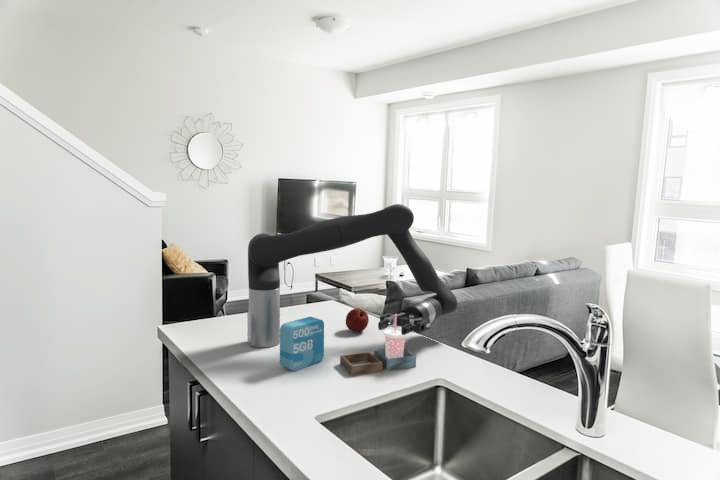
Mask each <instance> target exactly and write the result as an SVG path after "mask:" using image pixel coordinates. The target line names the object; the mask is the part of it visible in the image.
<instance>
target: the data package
mask: <svg viewBox="0 0 720 480" xmlns="http://www.w3.org/2000/svg"><path fill="white" fill-rule="evenodd" d="M324 353H325V322H324V320H322V319H319V318H316V317H312V316H308V317H304V318H299V319H296V320H291V321H288V322H287V321H286V322H284V323H282V324H280V343H279V365H280V366H281V367H282V368H284V369H286V370H289V371H292V372H296V371H298V370H301V369H305V368H307V367H310V366H313V365H316V364H319V363H321V362H322V361H323V359H324V356H325V354H324Z"/></svg>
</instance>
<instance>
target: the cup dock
mask: <svg viewBox="0 0 720 480" xmlns="http://www.w3.org/2000/svg"><path fill="white" fill-rule="evenodd" d="M339 356H340V357H339V358H340V359H339V361H340V362H339V364H340V366H341V367H342V368H343V369H344V370H345V371H346V372H347V373H348V374H349V375H350V376H351V377H352V376H360V375H366V374H367V375H368V374H373V373H381V372H383V369H384V370H385V371H387V372H389V371H395V370H402V369H410V368H416V367H417V355H415V354H414V353H412V352H411V351H410V350H408V349H407V348H405V347H404V353H403V357H398V358H391V359H388V358H387V357H386V355H385V347H384V348H383V347H382V348H375V349H373V353H372V352H370V351H364V352H357V353H356V352H354V353H348V354H341V355H339ZM366 362H367V363H366ZM357 363H358V364H357Z"/></svg>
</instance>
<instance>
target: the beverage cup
mask: <svg viewBox="0 0 720 480" xmlns="http://www.w3.org/2000/svg"><path fill="white" fill-rule="evenodd" d="M394 315H395V327H394V328H385V329H383V330H384V331H383V335H384V345H385V346H384V348H385V355H386V357H387V358H388V359H391V358H398V357H403V353H404V348H405V341H406V337H407V334H405V335H402V334H401V330H402V328H396V320H397V313H395V314H394Z"/></svg>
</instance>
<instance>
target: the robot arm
mask: <svg viewBox="0 0 720 480" xmlns="http://www.w3.org/2000/svg"><path fill="white" fill-rule="evenodd" d="M414 217H415V215H414V212H413V211H412V210H411V209H410V207H408V206H407V205H404V204H400V203H398V204H396V203H395V204H392V205H388V206H387V207H384V208H383V209H380V210H376V211H374V212H370V213H365V214H364V213H363V214H356V215H347V216H346V215H345V216H339V217H334V218H331V219H326V220H325V219H324V220H322V221H317V222H316V223H313V224H310V225H308V226H306V227H304V228H302V229H299V230H296V231H292V232H289V233H282V234H274V235H272V234H269V233H258V234H256V235H254V237H252V238H251V239H250V241H249V243H248V247H247V267H248V268H247V277H248V310H247V342H249V343H248V345H249V346H250V347H251V346H256V347H255V348H270V347H275V346H277V345H280V327H281V323H280V322H281V313H280V312H281V309H280V307H281V298H280V297H281V295H280V294H281V278H280V263H281V262H286V261H287V260H290V259H293V258H296V257H300V256H305V255H306V256H307V255H313V254H318V253H323V252H328V251H332V250H336V249H337V250H338V249H341V248H344V247H348V246H351V245H355V244H357V243H360V242H362V241H363V242H364V241H365V240H368V239H371V238H375V237H379V236H386V235H387V236H388V238H389V239H390V240H391V241H392V242H393V244H394V246H395V247H396V248H397V249H398V252H399V253H400V255H401V256H402V258H403V260H404V261H405V263H406V265H407V266H408V269H409V271H410V272H411V274H412V276H413V278H414V279H415V281H416V283H417V285H418V287H419V289H420V290H421V291H422V292H424V293H428V292H429V293H430V292H431V293H435V294H434V295H430V296H428V297H426V298H424V299H423V300H419V301H416V302H414V303H411V304H409V305H407V306H404V308H402V310H401V312H400V313H398V314H397V313H396V314H397V320H396V329H398V328H401V329H402V330H401V334H402V335H405V334H406V335H407V334H409V333H414V332H416V334H421V333H424V332H425V331H428V330H430V329H431V323H432V322H434V321H436V320H438V318H439V317H441V316H445V315H448V314H450V313H454V312H455V311H457V308H458V305H459V304H458V300H457V297H456V296H455V294H454V293H453V291H452V290H451V289H450V288H449V287H448V286H447V285H446V284H445V283H444V282H443V281H442V280H441V279H440V277H439V276H438V275H439V274H438V273H437V272H436V269H435V267H434V266H433V264H432V263H431V261H430V259H429V258H428V257H427V255H426V254H425V253H424V251H422V249H421V248H420V247H419V245H418V244H417V243H416V241H415V239H414V238H413V236H412V235H411V232H410V229H411V227H412V226H413V224H414V219H415V218H414ZM394 327H395V314H392V312H386V313H383V314H382V315H380V316H379V322H378V326H377V328H378V330H379V331H383V330H386V329H388V328H392V329H394Z"/></svg>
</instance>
